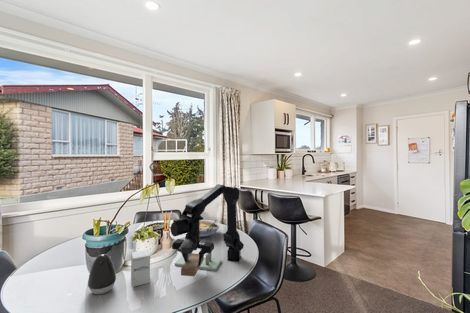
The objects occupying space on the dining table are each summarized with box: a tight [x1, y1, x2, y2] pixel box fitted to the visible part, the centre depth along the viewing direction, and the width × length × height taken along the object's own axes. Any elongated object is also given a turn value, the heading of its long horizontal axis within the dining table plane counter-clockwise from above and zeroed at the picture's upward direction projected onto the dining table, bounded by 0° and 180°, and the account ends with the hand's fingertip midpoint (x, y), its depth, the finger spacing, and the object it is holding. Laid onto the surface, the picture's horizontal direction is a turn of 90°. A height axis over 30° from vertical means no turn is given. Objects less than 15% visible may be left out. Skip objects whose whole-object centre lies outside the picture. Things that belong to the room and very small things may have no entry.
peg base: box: [174, 252, 222, 272], centre depth 122 cm, size 22×10×6 cm, turn 77°
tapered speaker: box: [87, 253, 117, 295], centre depth 98 cm, size 10×10×15 cm
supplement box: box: [130, 249, 151, 288], centre depth 105 cm, size 7×7×13 cm
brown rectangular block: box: [180, 252, 205, 278], centre depth 108 cm, size 15×6×3 cm, turn 173°
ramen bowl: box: [199, 219, 221, 238], centre depth 163 cm, size 25×23×8 cm
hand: (193, 264), depth 108 cm, fingers closed on brown rectangular block, 6 cm apart
